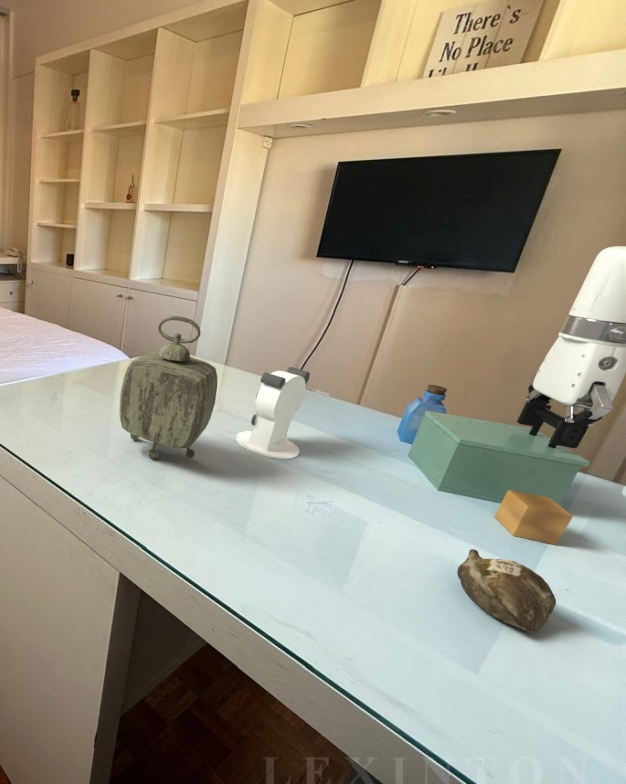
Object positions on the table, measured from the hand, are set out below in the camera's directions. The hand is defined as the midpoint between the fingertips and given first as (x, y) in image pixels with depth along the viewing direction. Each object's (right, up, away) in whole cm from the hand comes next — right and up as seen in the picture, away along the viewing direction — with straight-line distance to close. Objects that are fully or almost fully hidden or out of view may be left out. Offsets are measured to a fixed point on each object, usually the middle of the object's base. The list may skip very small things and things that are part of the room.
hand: (544, 434), depth 75 cm
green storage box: (-6, -9, +6) cm, 12 cm away
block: (-12, -14, -8) cm, 20 cm away
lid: (-5, -1, +2) cm, 6 cm away
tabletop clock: (-63, -4, +7) cm, 63 cm away
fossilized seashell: (-31, -18, -22) cm, 42 cm away
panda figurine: (-39, -3, +14) cm, 42 cm away
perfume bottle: (-3, -3, +22) cm, 22 cm away
